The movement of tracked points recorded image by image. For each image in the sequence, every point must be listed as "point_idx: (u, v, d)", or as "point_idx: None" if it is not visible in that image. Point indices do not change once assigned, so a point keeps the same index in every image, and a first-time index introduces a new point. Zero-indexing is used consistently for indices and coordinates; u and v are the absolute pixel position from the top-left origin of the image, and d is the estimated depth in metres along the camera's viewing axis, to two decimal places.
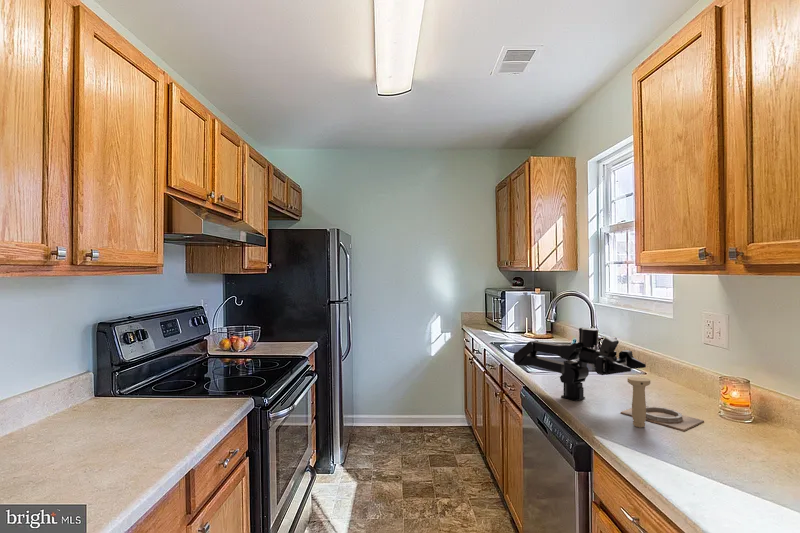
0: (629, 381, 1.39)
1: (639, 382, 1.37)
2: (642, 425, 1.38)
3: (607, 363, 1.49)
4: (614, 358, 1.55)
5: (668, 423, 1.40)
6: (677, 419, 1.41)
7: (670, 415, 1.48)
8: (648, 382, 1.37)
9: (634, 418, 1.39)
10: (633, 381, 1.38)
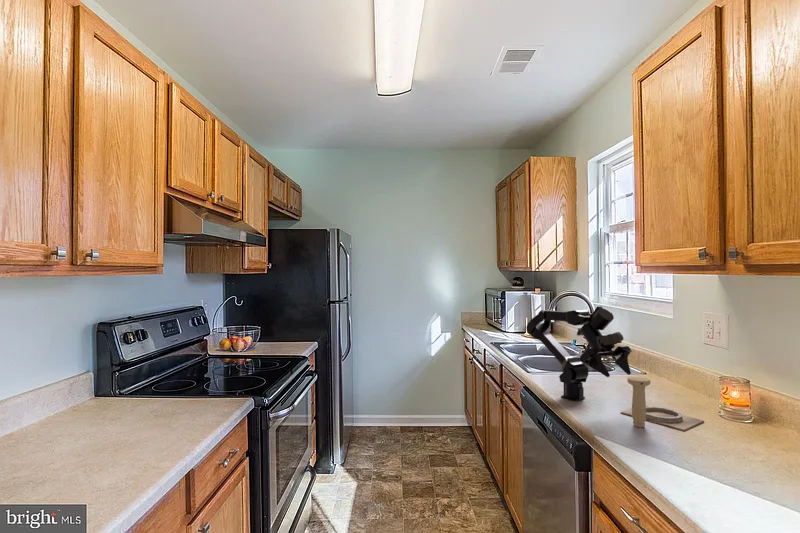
0: (629, 381, 1.39)
1: (639, 382, 1.37)
2: (642, 425, 1.38)
3: (593, 359, 1.50)
4: (607, 352, 1.54)
5: (668, 423, 1.40)
6: (677, 419, 1.41)
7: (670, 415, 1.48)
8: (648, 382, 1.37)
9: (634, 418, 1.39)
10: (633, 381, 1.38)
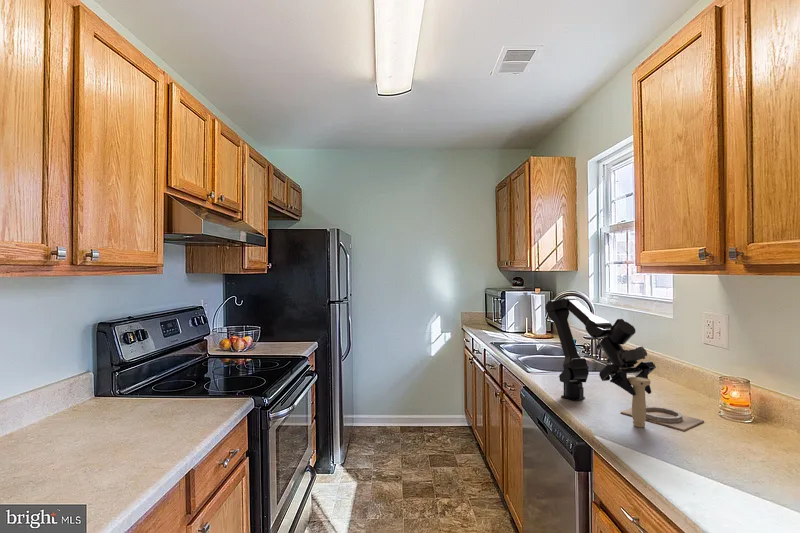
0: (629, 381, 1.39)
1: (639, 382, 1.37)
2: (642, 425, 1.38)
3: (617, 376, 1.40)
4: (629, 368, 1.43)
5: (668, 423, 1.40)
6: (677, 419, 1.41)
7: (670, 415, 1.48)
8: (648, 382, 1.37)
9: (634, 418, 1.39)
10: (633, 381, 1.38)
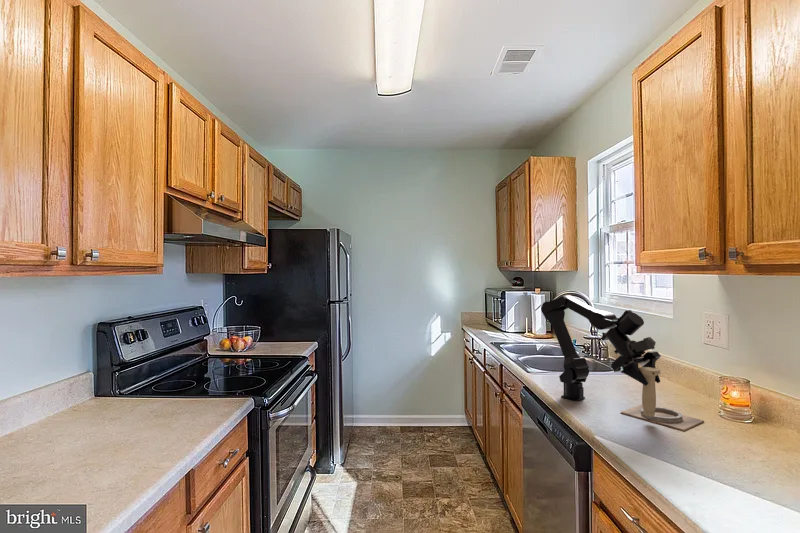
0: (641, 371, 1.41)
1: (651, 372, 1.39)
2: (653, 414, 1.40)
3: (630, 366, 1.41)
4: (638, 358, 1.45)
5: (668, 423, 1.40)
6: (677, 419, 1.41)
7: (670, 415, 1.48)
8: (659, 371, 1.40)
9: (645, 407, 1.41)
10: (645, 371, 1.40)
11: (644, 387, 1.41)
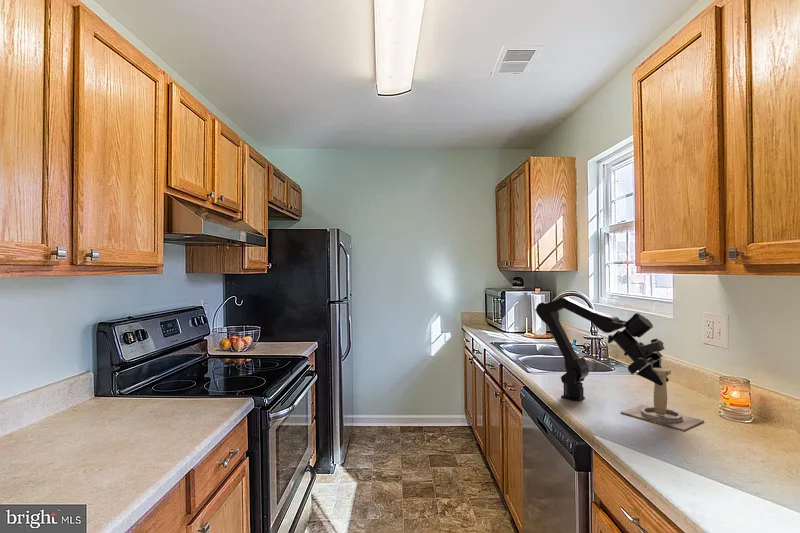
0: (655, 372, 1.45)
1: (665, 372, 1.45)
2: (665, 412, 1.46)
3: (646, 368, 1.45)
4: (648, 360, 1.50)
5: (668, 423, 1.40)
6: (677, 419, 1.41)
7: (670, 415, 1.48)
8: (670, 371, 1.46)
9: (658, 407, 1.46)
10: (660, 372, 1.45)
11: (657, 387, 1.46)
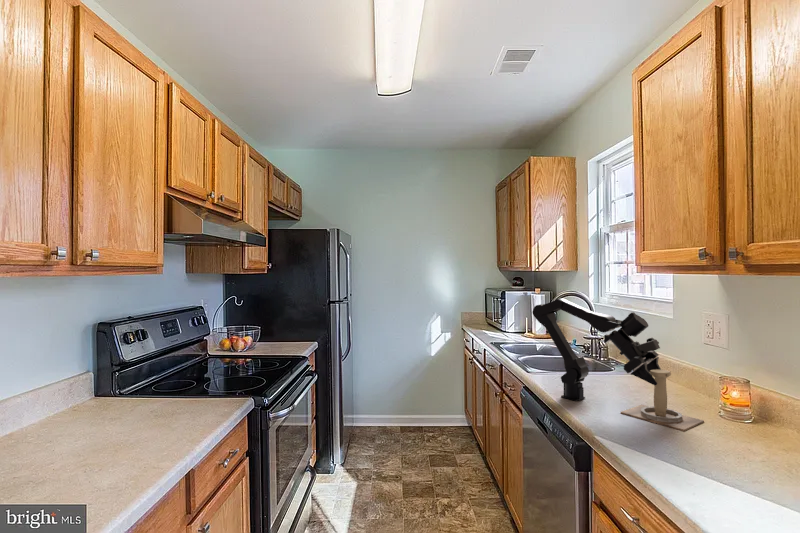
0: (654, 374, 1.46)
1: (664, 374, 1.45)
2: (665, 414, 1.46)
3: (640, 368, 1.45)
4: (644, 359, 1.51)
5: (668, 423, 1.40)
6: (677, 419, 1.41)
7: (670, 415, 1.48)
8: (670, 373, 1.46)
9: (658, 409, 1.46)
10: (659, 373, 1.45)
11: (657, 389, 1.46)
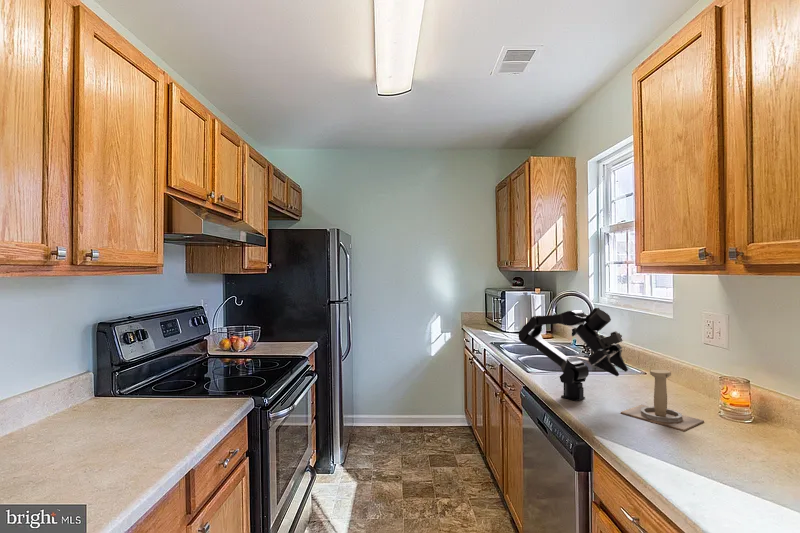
0: (655, 374, 1.46)
1: (664, 374, 1.45)
2: (665, 414, 1.46)
3: (603, 359, 1.53)
4: (607, 351, 1.59)
5: (668, 423, 1.40)
6: (677, 419, 1.41)
7: (670, 415, 1.48)
8: (670, 373, 1.46)
9: (658, 409, 1.46)
10: (659, 374, 1.45)
11: (657, 389, 1.46)
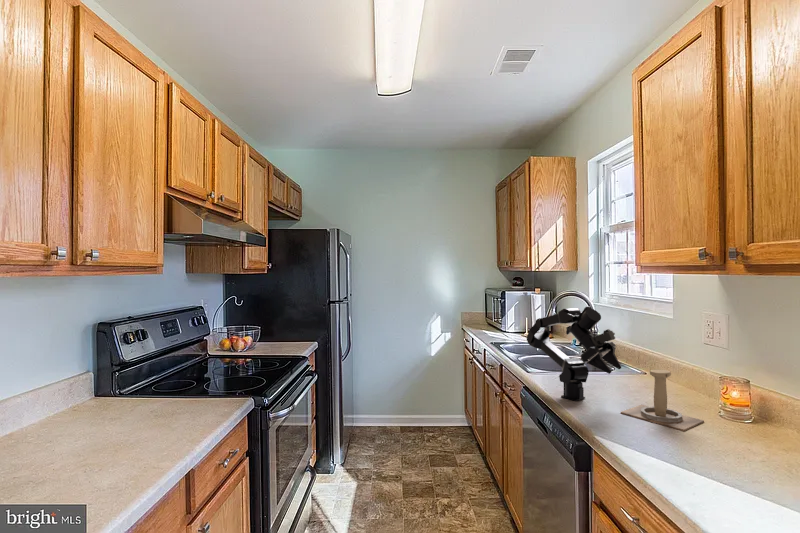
0: (654, 374, 1.46)
1: (664, 374, 1.45)
2: (665, 414, 1.46)
3: (595, 357, 1.54)
4: (600, 349, 1.60)
5: (668, 423, 1.40)
6: (677, 419, 1.41)
7: (670, 415, 1.48)
8: (670, 373, 1.46)
9: (658, 409, 1.46)
10: (659, 374, 1.45)
11: (657, 389, 1.46)
